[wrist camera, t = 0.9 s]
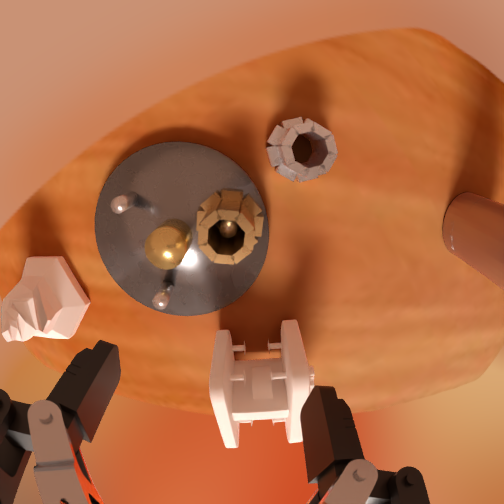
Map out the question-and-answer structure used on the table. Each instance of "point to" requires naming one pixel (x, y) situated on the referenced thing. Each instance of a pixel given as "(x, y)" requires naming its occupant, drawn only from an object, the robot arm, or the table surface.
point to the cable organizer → (260, 385)
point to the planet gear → (283, 153)
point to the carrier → (173, 229)
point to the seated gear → (233, 209)
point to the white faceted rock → (44, 301)
